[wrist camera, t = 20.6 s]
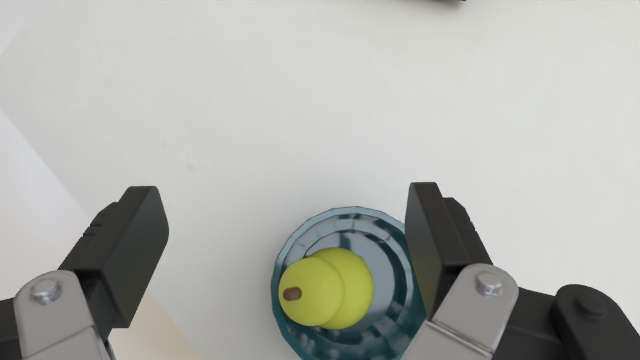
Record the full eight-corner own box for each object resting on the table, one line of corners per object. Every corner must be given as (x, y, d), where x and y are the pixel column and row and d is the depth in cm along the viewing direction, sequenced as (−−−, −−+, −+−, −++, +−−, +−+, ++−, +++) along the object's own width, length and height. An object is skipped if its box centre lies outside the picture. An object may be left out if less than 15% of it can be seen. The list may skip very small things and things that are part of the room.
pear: (330, 334, 30) (261, 362, 21) (305, 265, 31) (232, 266, 23) (396, 307, 28) (348, 327, 20) (365, 236, 30) (310, 227, 22)
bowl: (311, 381, 29) (311, 407, 24) (257, 246, 31) (246, 246, 26) (440, 319, 30) (465, 333, 25) (381, 192, 32) (392, 181, 27)
